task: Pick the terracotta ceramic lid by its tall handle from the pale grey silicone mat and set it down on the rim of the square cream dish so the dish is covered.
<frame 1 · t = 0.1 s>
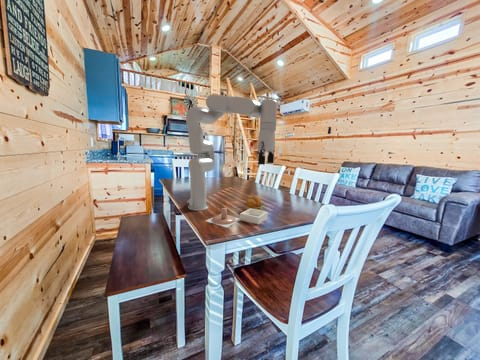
hand: (266, 163, 102), 31 cm above the table, fingers open, 9 cm apart
lid: (223, 220, 110), resting on mat
cheeseburger: (254, 211, 128), on the table
dish: (253, 219, 113), on the table
mat: (223, 220, 111), on the table
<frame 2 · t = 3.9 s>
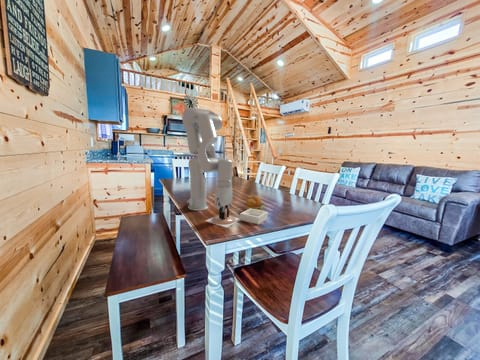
hand: (223, 217, 110), 2 cm above the table, fingers closed on lid, 3 cm apart
lid: (223, 220, 110), resting on mat, touching gripper
everything else where it was.
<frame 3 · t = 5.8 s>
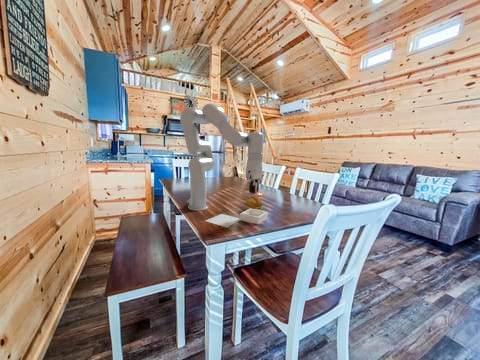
hand: (253, 191, 110), 16 cm above the table, fingers closed on lid, 3 cm apart
lid: (253, 194, 110), point 14 cm above the table, touching gripper
everything else where it was.
when the fingers open (7 cm above the table, at t = 8.1 s): lid drops 1 cm, resting on dish.
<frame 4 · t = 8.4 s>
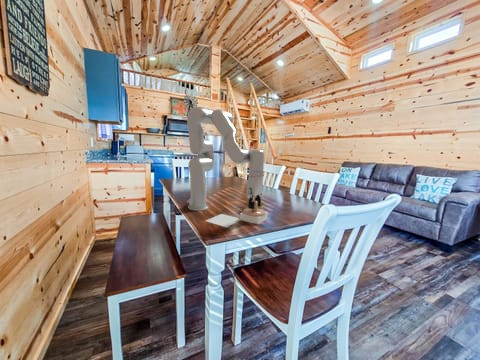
hand: (254, 206, 112), 7 cm above the table, fingers open, 6 cm apart
lid: (254, 212, 113), point 4 cm above the table, touching dish
everything else where it was.
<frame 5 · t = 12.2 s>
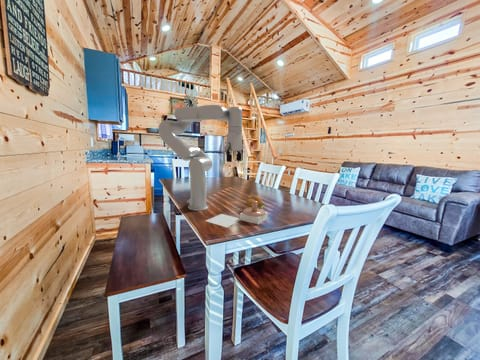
hand: (234, 161, 119), 30 cm above the table, fingers open, 9 cm apart
nothing on the table moved.
at the end: lid 0.0 cm off-centre on the dish, point 4.0 cm above the dish's base; lid tilted 0°; the gripper is holding nothing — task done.
